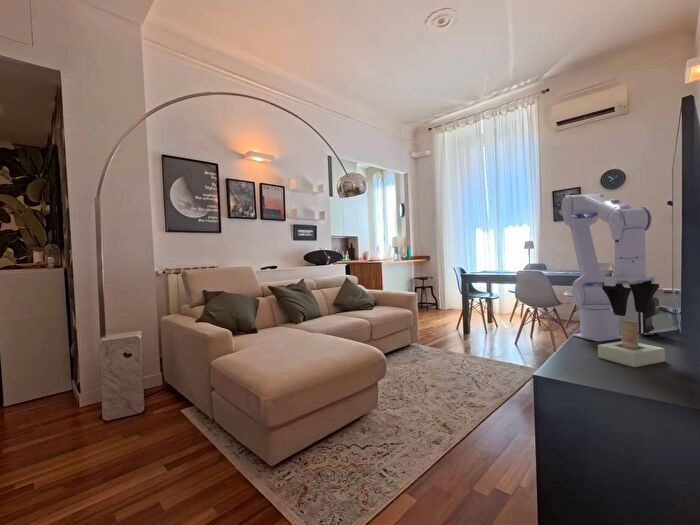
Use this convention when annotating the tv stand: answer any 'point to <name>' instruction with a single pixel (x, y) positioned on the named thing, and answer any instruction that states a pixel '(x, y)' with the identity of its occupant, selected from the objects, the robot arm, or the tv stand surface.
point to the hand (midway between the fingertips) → (630, 313)
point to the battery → (648, 316)
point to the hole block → (631, 354)
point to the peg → (629, 334)
